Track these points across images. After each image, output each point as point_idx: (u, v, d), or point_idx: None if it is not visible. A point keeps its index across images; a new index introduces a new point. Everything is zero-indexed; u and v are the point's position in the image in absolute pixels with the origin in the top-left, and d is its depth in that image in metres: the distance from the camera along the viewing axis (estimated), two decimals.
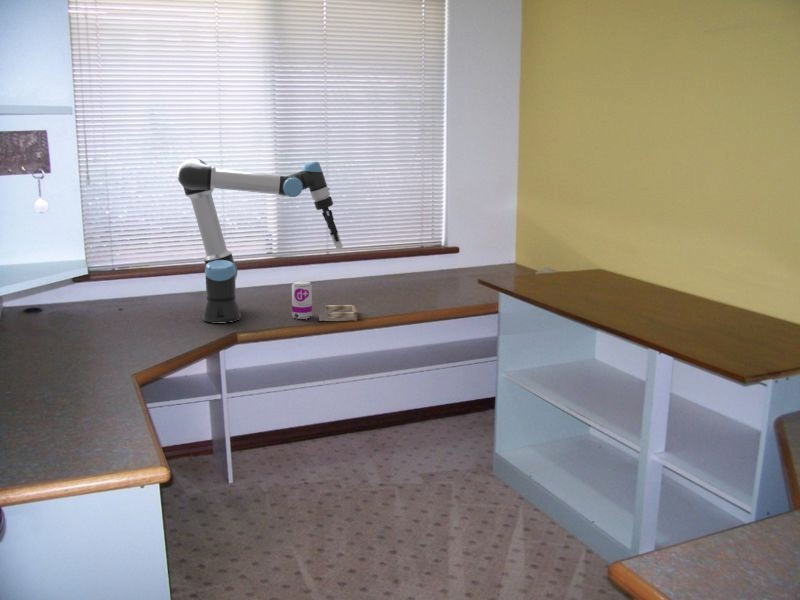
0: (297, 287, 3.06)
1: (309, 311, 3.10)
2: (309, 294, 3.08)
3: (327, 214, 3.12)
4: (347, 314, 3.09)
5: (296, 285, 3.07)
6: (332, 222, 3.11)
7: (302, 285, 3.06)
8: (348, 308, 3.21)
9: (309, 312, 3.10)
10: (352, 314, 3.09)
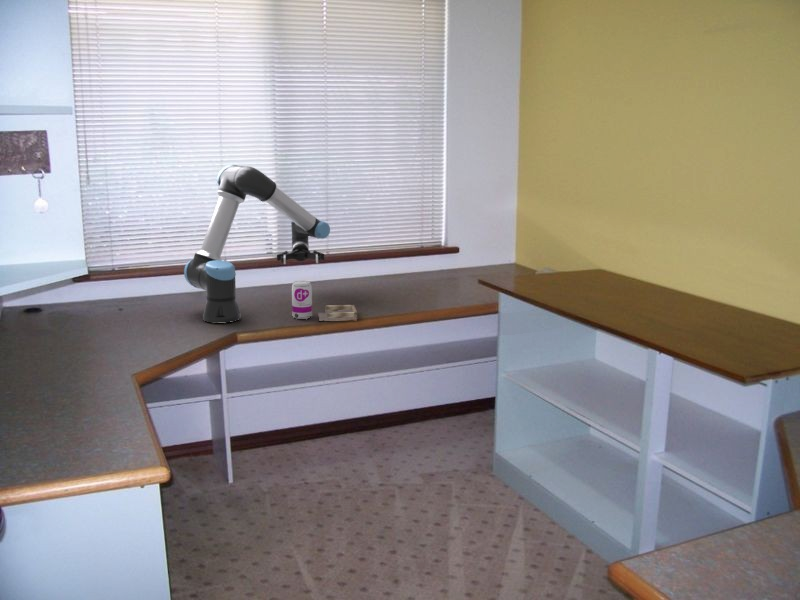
0: (297, 287, 3.06)
1: (309, 311, 3.10)
2: (309, 294, 3.08)
3: None
4: (347, 314, 3.09)
5: (296, 285, 3.07)
6: None
7: (302, 285, 3.06)
8: (348, 308, 3.21)
9: (309, 312, 3.10)
10: (352, 314, 3.09)
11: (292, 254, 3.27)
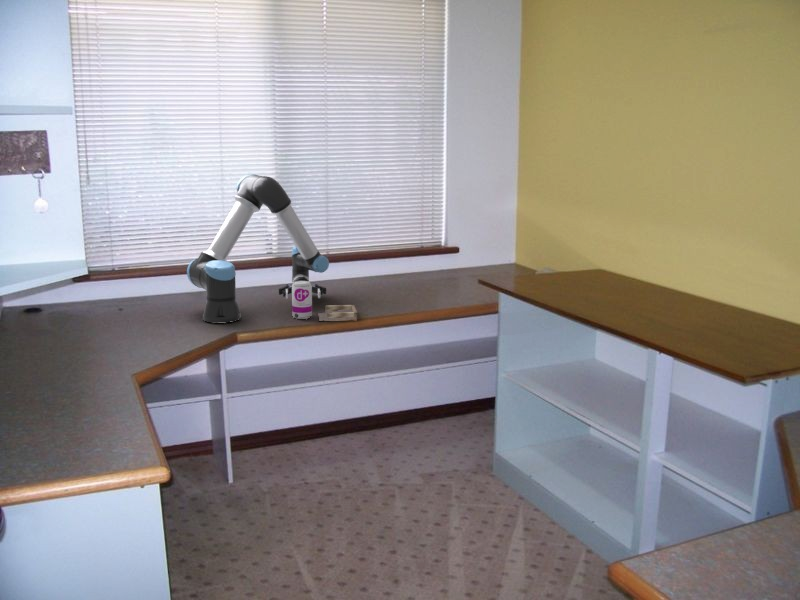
0: (297, 287, 3.06)
1: (309, 311, 3.10)
2: (309, 294, 3.08)
3: None
4: (347, 314, 3.09)
5: (296, 285, 3.07)
6: None
7: (302, 285, 3.06)
8: (348, 308, 3.21)
9: (309, 312, 3.10)
10: (352, 314, 3.09)
11: None
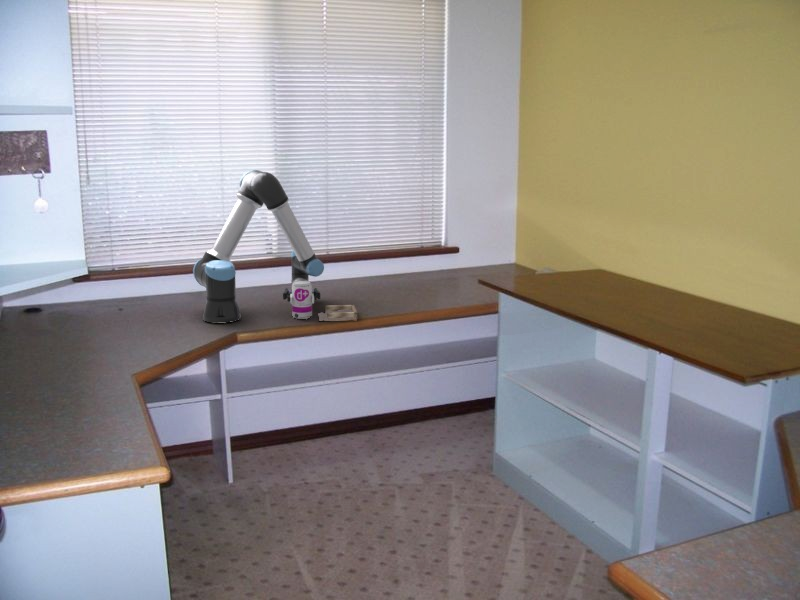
0: (297, 287, 3.06)
1: (309, 311, 3.10)
2: (309, 294, 3.08)
3: None
4: (347, 314, 3.09)
5: (296, 285, 3.07)
6: None
7: (302, 285, 3.06)
8: (348, 308, 3.21)
9: (309, 312, 3.10)
10: (352, 314, 3.09)
11: None
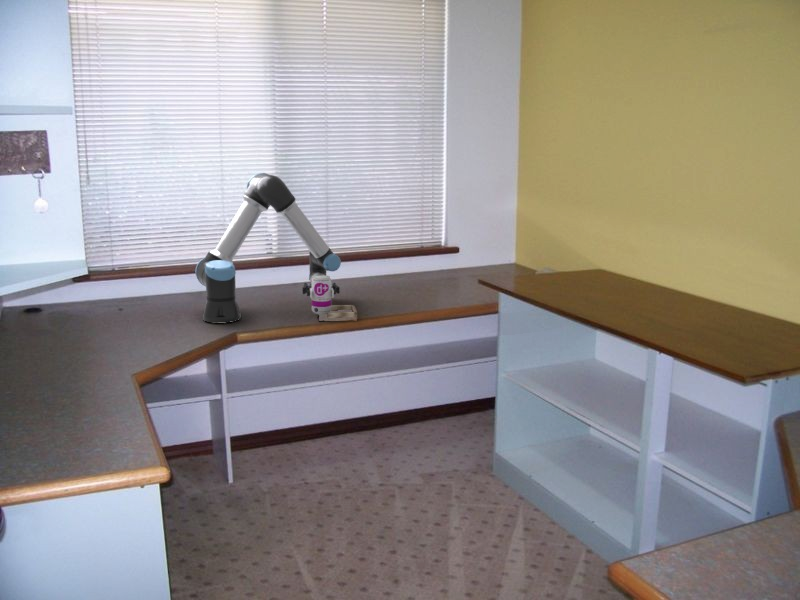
0: (317, 281, 3.07)
1: (329, 306, 3.11)
2: (329, 288, 3.10)
3: None
4: (347, 314, 3.09)
5: (316, 279, 3.08)
6: None
7: (322, 279, 3.07)
8: (348, 308, 3.21)
9: (329, 306, 3.11)
10: (352, 314, 3.09)
11: None
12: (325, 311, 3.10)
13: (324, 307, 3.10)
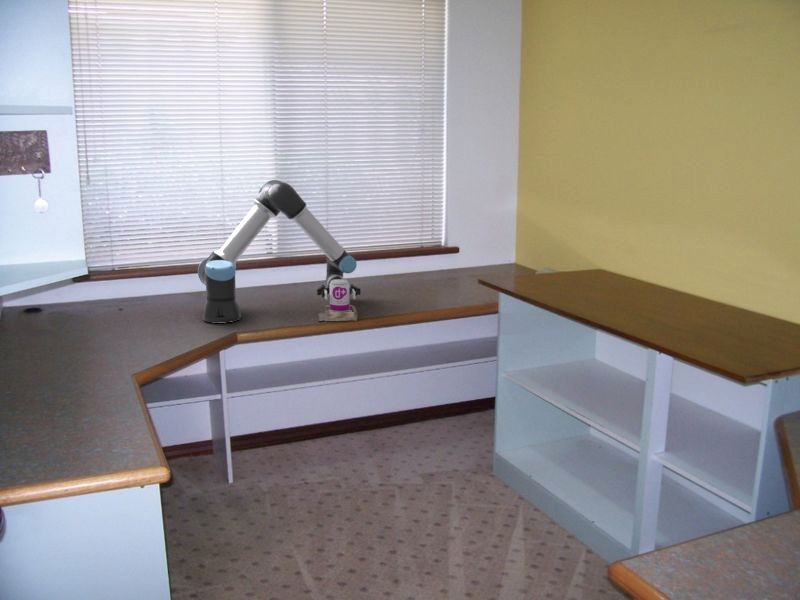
0: (335, 285, 3.09)
1: (347, 310, 3.12)
2: (347, 292, 3.11)
3: None
4: (347, 314, 3.09)
5: (334, 283, 3.09)
6: None
7: (340, 283, 3.09)
8: None
9: (347, 310, 3.12)
10: (352, 314, 3.09)
11: None
12: None
13: (342, 311, 3.11)
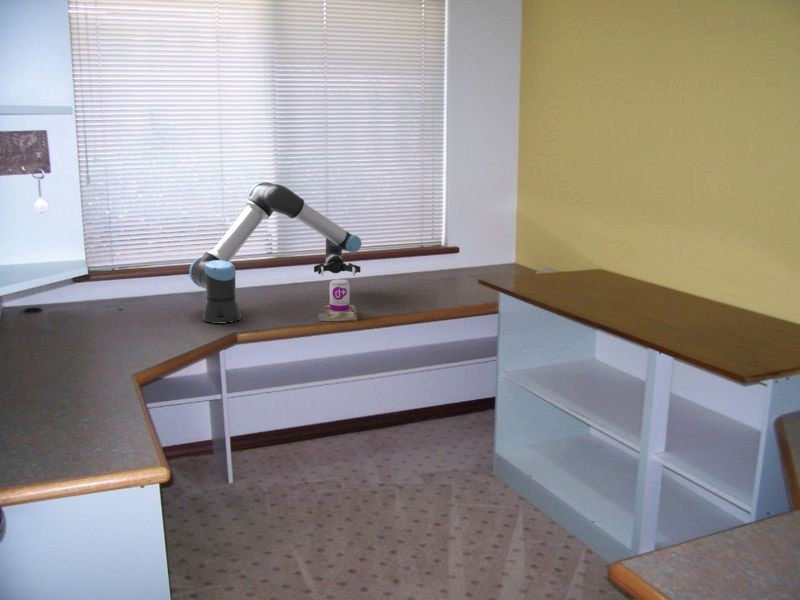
0: (335, 285, 3.08)
1: (347, 310, 3.12)
2: (347, 292, 3.11)
3: None
4: (347, 314, 3.09)
5: (334, 283, 3.09)
6: None
7: (340, 283, 3.09)
8: None
9: (347, 310, 3.12)
10: (352, 314, 3.09)
11: (328, 266, 3.31)
12: None
13: (342, 311, 3.11)
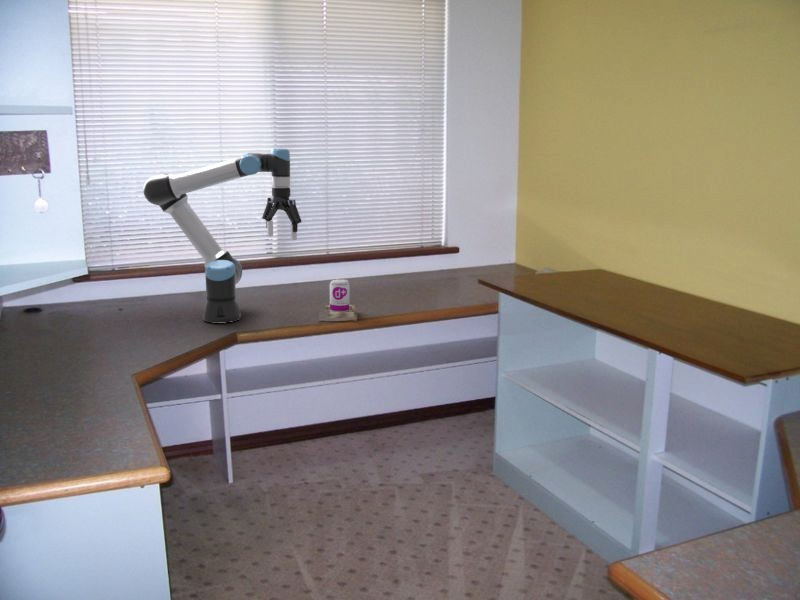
0: (335, 285, 3.08)
1: (347, 310, 3.12)
2: (347, 292, 3.11)
3: (292, 203, 3.07)
4: (347, 314, 3.09)
5: (334, 283, 3.09)
6: (297, 212, 3.08)
7: (340, 283, 3.09)
8: None
9: (347, 310, 3.12)
10: (352, 314, 3.09)
11: (274, 210, 3.14)
12: None
13: (342, 311, 3.11)
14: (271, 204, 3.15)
